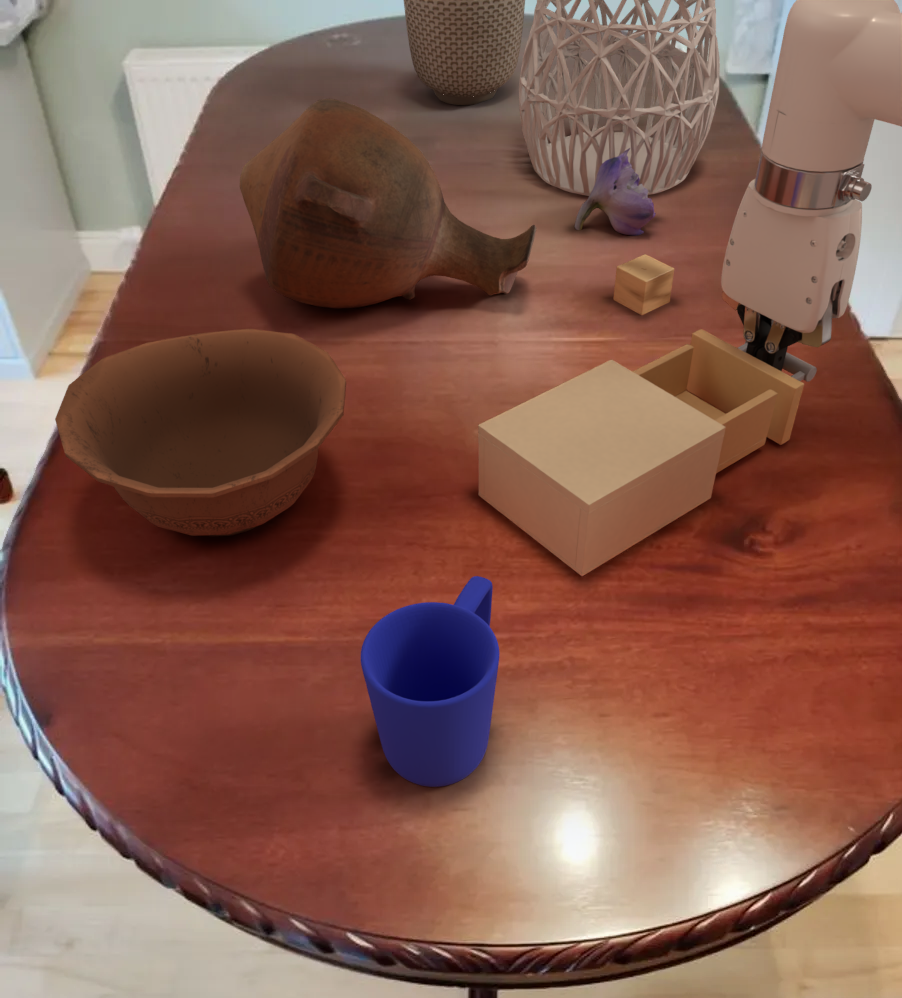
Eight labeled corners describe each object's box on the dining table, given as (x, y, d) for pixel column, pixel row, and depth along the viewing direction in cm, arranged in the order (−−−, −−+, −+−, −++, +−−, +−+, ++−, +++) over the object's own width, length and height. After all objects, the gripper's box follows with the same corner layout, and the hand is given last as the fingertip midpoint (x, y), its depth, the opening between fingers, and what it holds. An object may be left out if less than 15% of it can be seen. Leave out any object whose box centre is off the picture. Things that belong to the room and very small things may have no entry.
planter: (384, 101, 148) (375, -22, 137) (454, 67, 157) (452, -51, 146) (478, 126, 140) (477, -3, 129) (545, 89, 150) (551, -34, 138)
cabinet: (603, 432, 90) (611, 358, 84) (710, 502, 83) (726, 426, 77) (478, 499, 84) (477, 424, 78) (581, 580, 77) (588, 504, 71)
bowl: (154, 418, 93) (124, 312, 85) (384, 438, 90) (375, 330, 82) (49, 583, 78) (0, 472, 70) (321, 613, 75) (302, 502, 67)
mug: (537, 684, 70) (543, 582, 63) (466, 821, 62) (464, 724, 55) (431, 649, 72) (426, 547, 65) (351, 777, 65) (334, 677, 58)
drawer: (728, 363, 96) (739, 308, 91) (827, 417, 89) (843, 361, 85) (586, 439, 88) (591, 383, 84) (682, 504, 81) (693, 446, 77)
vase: (521, 130, 139) (528, -134, 118) (698, 132, 137) (737, -136, 115) (512, 207, 122) (518, -84, 101) (713, 210, 120) (762, -86, 99)
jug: (221, 325, 104) (500, 388, 104) (201, 159, 88) (533, 234, 87) (276, 204, 115) (530, 261, 115) (268, 35, 98) (565, 101, 98)
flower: (573, 194, 109) (646, 137, 109) (549, 196, 117) (618, 142, 117) (616, 266, 113) (687, 211, 112) (590, 263, 121) (656, 211, 120)
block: (640, 290, 107) (645, 253, 104) (669, 305, 105) (674, 268, 102) (612, 303, 106) (616, 266, 103) (641, 319, 103) (645, 281, 100)
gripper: (921, 194, 74) (855, 402, 87) (761, 135, 82) (723, 333, 95) (859, 224, 71) (800, 436, 84) (699, 160, 79) (668, 361, 92)
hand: (759, 380), depth 90 cm, fingers closed
